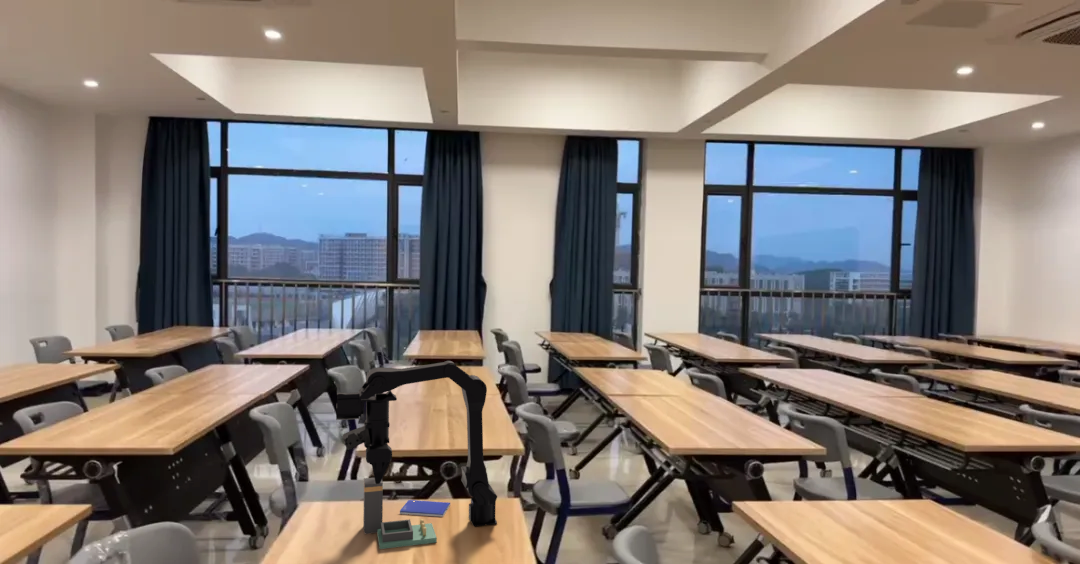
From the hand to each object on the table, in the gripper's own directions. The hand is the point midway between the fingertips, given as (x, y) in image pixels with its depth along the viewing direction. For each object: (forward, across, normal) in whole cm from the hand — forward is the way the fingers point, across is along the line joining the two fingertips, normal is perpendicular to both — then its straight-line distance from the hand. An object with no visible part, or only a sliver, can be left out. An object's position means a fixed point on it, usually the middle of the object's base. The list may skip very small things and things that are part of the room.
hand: (376, 477), depth 165 cm
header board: (+15, +5, +7) cm, 17 cm away
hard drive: (+15, -12, +14) cm, 24 cm away
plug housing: (+15, -2, -1) cm, 15 cm away
